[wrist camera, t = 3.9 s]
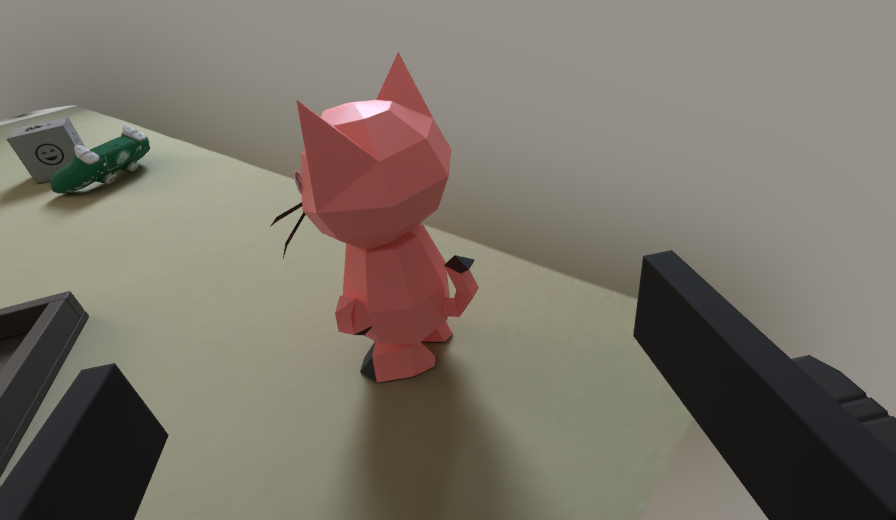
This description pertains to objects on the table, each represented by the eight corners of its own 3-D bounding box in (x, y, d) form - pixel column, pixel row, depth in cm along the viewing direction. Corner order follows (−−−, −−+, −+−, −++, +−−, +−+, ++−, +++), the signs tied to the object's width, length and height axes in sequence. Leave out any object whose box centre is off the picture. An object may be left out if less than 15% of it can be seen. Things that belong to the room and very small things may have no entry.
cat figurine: (389, 288, 25) (330, 53, 19) (510, 307, 23) (491, 42, 16) (312, 385, 20) (192, 107, 14) (456, 425, 17) (395, 104, 11)
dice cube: (42, 171, 53) (14, 128, 51) (91, 158, 55) (67, 116, 52) (36, 183, 50) (6, 138, 47) (89, 169, 51) (63, 125, 49)
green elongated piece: (80, 213, 46) (88, 173, 42) (44, 188, 45) (49, 145, 41) (152, 174, 53) (163, 137, 49) (122, 152, 52) (132, 113, 49)
